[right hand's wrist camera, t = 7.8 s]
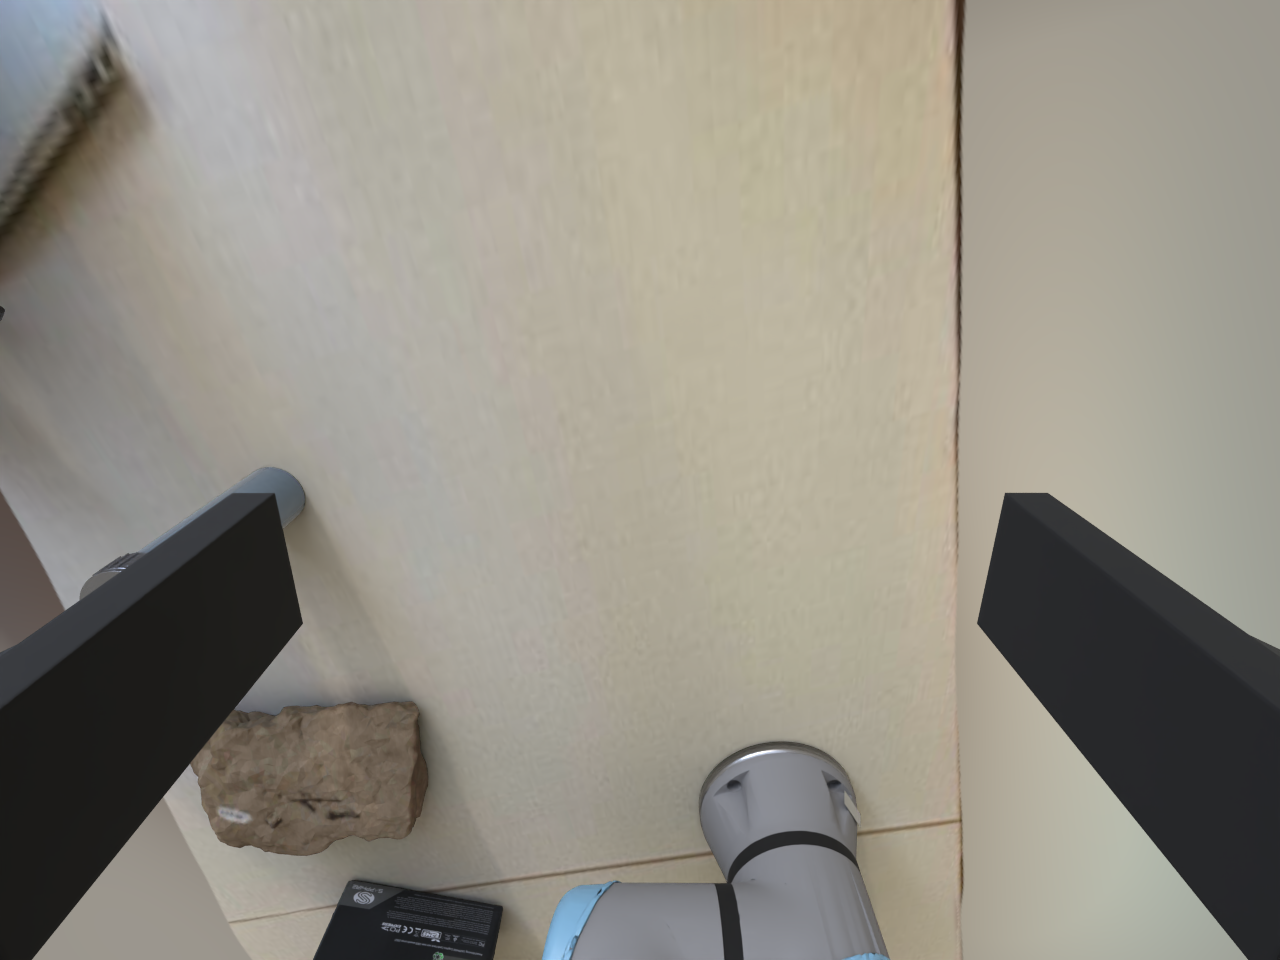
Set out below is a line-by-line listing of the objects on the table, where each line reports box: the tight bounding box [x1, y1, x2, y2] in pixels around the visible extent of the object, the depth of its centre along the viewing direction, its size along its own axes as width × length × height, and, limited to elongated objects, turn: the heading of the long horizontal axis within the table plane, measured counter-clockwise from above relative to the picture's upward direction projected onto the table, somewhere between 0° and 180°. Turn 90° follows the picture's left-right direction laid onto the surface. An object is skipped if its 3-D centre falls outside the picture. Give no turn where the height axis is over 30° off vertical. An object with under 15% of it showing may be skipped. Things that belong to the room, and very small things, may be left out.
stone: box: [190, 701, 428, 856], centre depth 64 cm, size 21×15×6 cm
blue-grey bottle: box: [138, 467, 305, 553], centre depth 48 cm, size 5×5×17 cm
